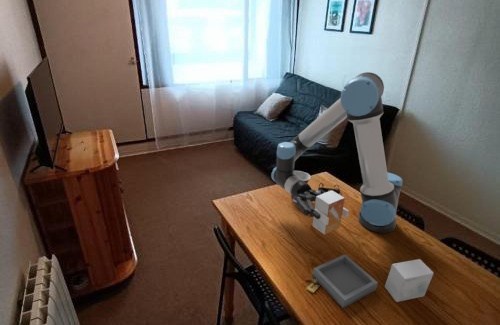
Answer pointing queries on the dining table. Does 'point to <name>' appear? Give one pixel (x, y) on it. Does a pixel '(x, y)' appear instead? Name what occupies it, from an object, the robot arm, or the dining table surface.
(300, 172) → the plastic cup
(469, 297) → the dining table surface
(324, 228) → the small box
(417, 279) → the skincare box
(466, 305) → the dining table surface
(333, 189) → the sunglasses
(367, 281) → the tray
